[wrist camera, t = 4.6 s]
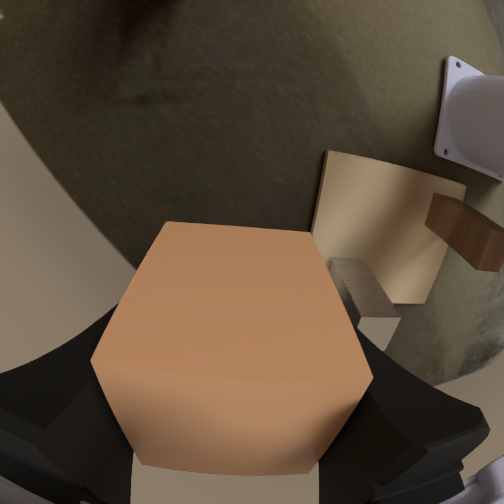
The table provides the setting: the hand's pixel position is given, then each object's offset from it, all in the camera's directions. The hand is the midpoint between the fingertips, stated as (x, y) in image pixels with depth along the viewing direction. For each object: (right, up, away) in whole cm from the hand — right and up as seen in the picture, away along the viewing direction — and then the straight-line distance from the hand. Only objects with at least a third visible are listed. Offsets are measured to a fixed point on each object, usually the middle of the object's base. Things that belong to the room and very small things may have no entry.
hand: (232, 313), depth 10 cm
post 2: (+15, +5, +9) cm, 18 cm away
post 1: (+7, +1, +11) cm, 14 cm away
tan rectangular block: (0, +1, +1) cm, 2 cm away
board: (+11, +3, +10) cm, 15 cm away
